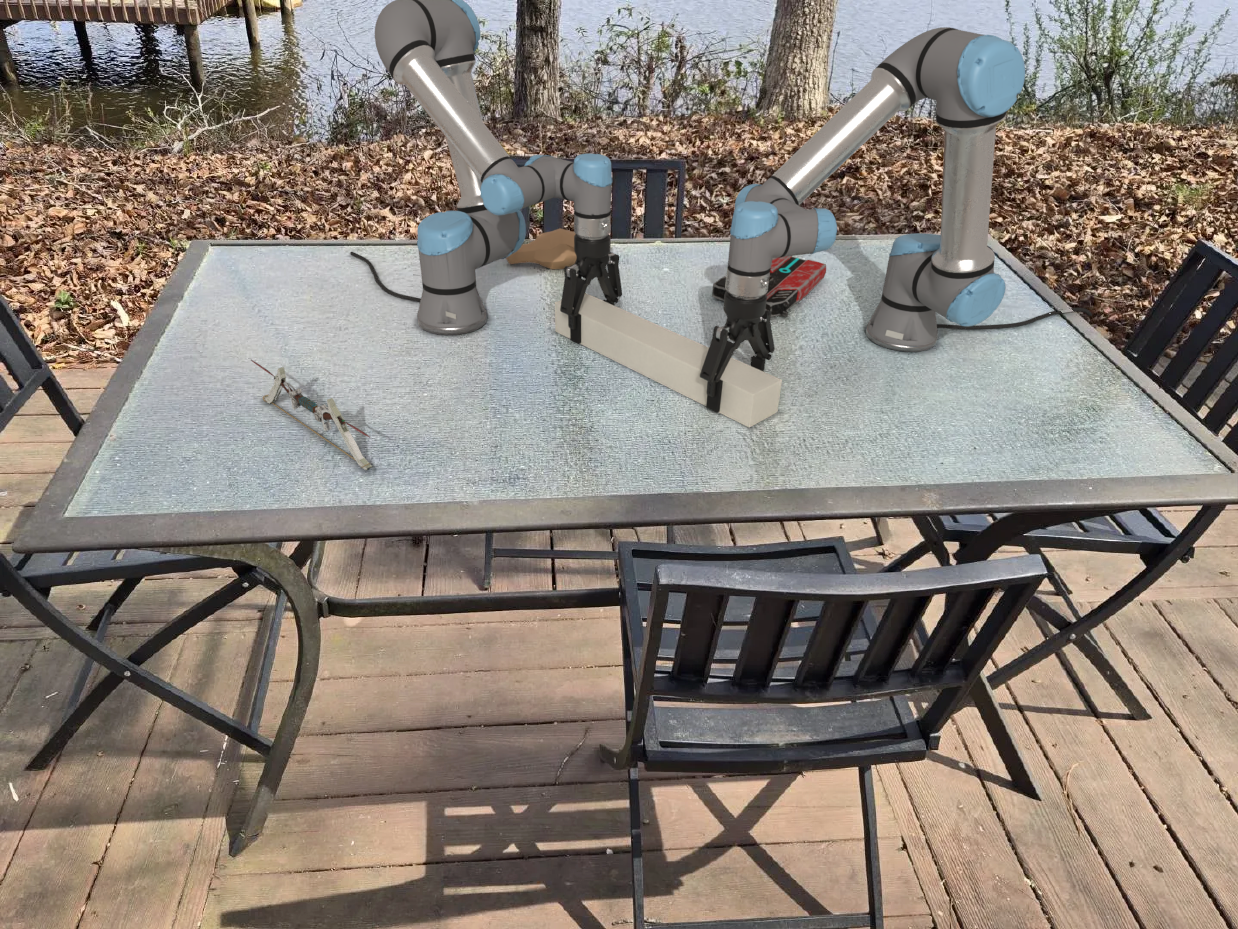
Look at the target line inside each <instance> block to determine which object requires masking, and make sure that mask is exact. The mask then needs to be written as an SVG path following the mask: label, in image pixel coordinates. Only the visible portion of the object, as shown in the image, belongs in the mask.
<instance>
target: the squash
mask: <svg viewBox="0 0 1238 929" xmlns="http://www.w3.org/2000/svg"><path fill="white" fill-rule="evenodd" d="M574 236H575V232H574V231H571V230H568V229H565V228H561V227H559V228H557V229H554V230H552V231H546V232H542V233H541V234H539V235H537V236H536V237H535V239H534V240H532V241H530V242H528V243H523V244H522V246H521V248H520V249H519V250H518V251H516V252H515V253H513V254H511V255H510V256H508V257H507V258H505V260H506V262H508V264H509V265H514V264H524V263H525V264H527V263H531V264H538V265H540V266H541V267H543V268H547V269H550V270H564V268H565V266H568V267H571V266H573V265H575V262H576V258H577V257H576V254H575V251H574Z"/></svg>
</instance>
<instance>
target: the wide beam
mask: <svg viewBox="0 0 1238 929" xmlns="http://www.w3.org/2000/svg"><path fill="white" fill-rule="evenodd" d="M561 300H562V299H560V300H557V301H555V302H554V328H555V329H554V330H555V333H557V334H560V335H561V336H563V337H564V338H568V339H569V340H570V328H569V326H568V315H567V314H565V313H563V312H561V311H560V307H561ZM603 300H604V299H601V298H598V297H596V296H594V295H591V294H589V293H587V292H585V295H584V298H583V301H582V304H581V307H580V310H579V314H581V343H579V344H578V345H581V346H584V347H585V348H588V349H589V350H591V351H593V352H595V353H598V354H600V355H601V356H603V357H606V358H608V359H610V360H611V361H613V362H616V363H618V364H620V365H622V366H624V367H625V368H628V369H630V370H632V371H634V372H636V373H638V374H640V375H642V376H644V377H646V378H648V379H649V380H652V381H654V382H656V383H658V384H660V385H662V386H665V387H666V388H668V389H671V391H674V392H677V393H678V394H680V395H682V396H685V397H687V398H689V399H690V400H693V401H695V402H697V403H698V404H701V405H703V406H705V407H706V404H707V382H708V381H707V380H704V379H702V378H700V373H701V370H702V367H703V364H704V361H705V358H706V355H707V352H708V350H709V347H710V346H707V345H704V344H702V343H699V342H698V341H695V340H693V339H691V338H689V337H687V336H684V335H682V334H679V333H677V332H675V331H672V330H670V329H668V328H665V327H664V326H661V325H660V324H656V323H655V322H652V321H650V320H647V319H646V318H643V317H641V316H639V315H637V314H634V313H632V312H630V311H627V310H626V309H623V308H621V307H619V306H617V305H615V306H614V305H612V304H609V303H607V302H605V301H603ZM573 309H574V308H573ZM720 380H723V385H722V394H721V404H720V412H718V413H719V414H721V415H722V416H725V417H727V418H729V419H731V420H733V421H735V422H737V423H739V424H741V425H743V426H744V427H747V428H751V427H754V426H756V425H757V424H759V423H761V422H762V421H764V420H767V419H768V418H770V417H772V416H773V415H775V414H777V413H778V410H779V404H780V397H781V390H782V382H783V379H781V378H779V377H776V376H774V375H772V374H771V373H767V372H765V371H764V372H763V371H761V370H759V369H756V368H754V367H752V366H750V364H747V363H745V362H743V361H741V360H738V359H736V358H734V357H731V359H730V361H729V363H728V365H727V366H726V368H725V370H724V372H723V374H722V376H721V378H720Z"/></svg>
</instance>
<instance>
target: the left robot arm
mask: <svg viewBox="0 0 1238 929" xmlns="http://www.w3.org/2000/svg"><path fill="white" fill-rule="evenodd" d="M480 40H481V27H480V23H479V20H478V17H477V15H476V13H475V11H474V10H473V8H472V7H471V6H470V4H468V3H467V2H465V0H393V1H391V2H389V3H388V4H386V5H385V6H384V7H383V8H382V9H381V11H380V12H379V14H378V16H377V18H376V22H375V26H374V41H375V46H376V50H377V53H378V56H379V58H380V60H381V62H382V64H383V66H384V68H385V69H386V71H387V72H388V74H389V75H390V76H391V77H392V79H393V80H394V82H396V84H398V85H404V86H405V87H406V89H407V90H408V91H409V92H410V93H411V95H412V96H413V97H414V98H415V100H416V101H417V102H418V104H419V105H420V106H421V107H422V109H423V110H424V111H425V113H426V114H427V115H428V117H430V119H431V120H432V122H433V123H434V124H435V125H436V126H437V128H438V129H439V130H440V132H441V133H442V134H443V135H444V137H445V139H446V143H447V148H448V151H449V156H450V160H451V163H452V167H453V170H454V174H455V179H456V182H457V185H458V186H457V187H458V190H459V193H460V198H459V200H458V201H457V204H456V209H457V210H446V211H444V212H443V211H439V212H435V213H432V214H429V215H428V216H426V217H425V218H423V219H422V220H421V221H420V222H419V224H418V226H417V230H416V233H417V241H416V245H417V250H418V258H419V259H418V260H419V267H420V275H421V276H420V277H421V284H422V292H421V297H416V296H411V295H406V294H401V293H398V292H396V291H393V290H391V289H389V288H388V287H387V286H385V285H384V284H383V283H382V282H381V281H380V279H379V276H378V273H377V271H376V269H375V267H374V265H373V264H372V262H371V261H370V260H369V259H368V258H366V257H364V256H363V255H361V254H358V253H357V252H354V251H350V252H349V255H351V256H353V257H355V258H356V259H358V260H361V261H363V262H364V263H366V264H367V266H368V267H369V269H370V272H371V273H372V277H373V278H374V281H375V282H376V284H377V285H378V286H379V287H380V289H381V290H382V291H384V292H385V293H387V294H388V295H391V296H393V297H395V298H399V299H403V300H408V301H413V302H417V303H419V305H418V310H417V313H416V314H417V315H416V318H417V325H418V326H419V328H420V329H421V330H423V331H424V332H427V333H430V334H433V335H440V336H459V335H465V334H469V333H473V332H476V331H477V330H480V329H481V328H483V327H484V326H485V325H486V323H487V320H488V316H487V310H486V306H485V304H484V302H483V299H482V298H481V295H480V293H479V291H478V288H477V278H476V277H477V276H476V270H478V269H480V268H482V267H484V266H487V265H489V264H492V263H494V262H497V261H499V260H504V259H505V260H506V258H507V257H508V256H510V255H511V254H513V253H515V252H516V251H518V250H519V249H520V248H521V246H522V244H524V242H525V240H526V234H527V225H526V220H525V217H524V215H523V213H522V211H521V210H523V209H526V208H528V207H530V206H533V205H534V206H535V205H537V204H540V203H543V202H546V201H549V200H551V199H560V200H565V201H569V202H573V232H574V233H575V236H574V251H575V254H576V257H577V258H576V262H575V264H573V265H571V266H569V267H568V266H565V268H564V269H563V274H564V281H563V287H562V294H561V299H560V300H561V307H560V311H561V312H563V313H565V314H567V315H568V326H569V328H570V339H569V340H571V341H572V342H574V343H577V344H578V345H580V344H579V343H581V314H579V310H580V307H581V304H582V301H583V298H584V295H585V293H587V289H588V287H589V286H590V285H591V283H592V280H594V279H597V282H598V284H599V286H600V289H601V292H602V295H603V297H604V299H602V300H603V301H605V302H607V303H609V304H612V305H614V306H616V305H615V304H617V303H618V302H619V300H620V299H619V298H621V297H622V296H623V288H622V281H621V274H620V266H619V264H620V255H619V254H617V253H614V252H612V251H611V243H612V242H611V240H612V239H611V238H612V237H611V235H610V234H611V230H612V229H611V228H612V192H613V191H612V189H613V188H612V187H613V174H612V173H613V172H612V171H613V170H612V161H611V159H610V158H609V157H608V156H606V155H604V154H602V153H601V154H600V153H581V154H578V155H576V157H575V158H574V159H573V161H570V160H568V159H567V160H566V159H564V158H563V159H562V158H559V157H555V156H552V155H550V154H549V155H548V154H545V155H543V154H533V155H531V156H530V157H529V159H528V160H527V161H526V162H525V163H524V165H523V166H518V165H517V164H516V162H515V161H514V160H513V159H512V158H511V156H510V155H509V154H508V152H507V151H506V150H505V148H504V147H503V145H501V143H500V142H499V140H497V138H496V137H495V135H494V134H493V133H492V132H491V131H490V129H489V128H488V127H487V125H486V124H485V123H484V121H483V117H482V116H483V115H482V112H481V108H480V103H479V100H478V96H477V91H476V87H475V83H474V79H473V78H474V77H473V74H472V71H473V69H474V67H475V65H476V64H477V61H476V57H475V52H476V51H477V49H478V48H479V45H480V42H479V41H480ZM573 308H574V309H573Z"/></svg>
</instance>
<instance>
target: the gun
mask: <svg viewBox="0 0 1238 929" xmlns="http://www.w3.org/2000/svg"><path fill="white" fill-rule="evenodd" d="M826 273H827V264H826V263H823V262H820V261H816V260H812V259H802V258H799V257H795V256H787V257H781V258H773V259H772V264H771V270H770V275H769V283H768V291H767V293H766V295H767V301H766V310H769V311H771V318H772V317H777V316H780V317H784V318H787V317H788V315H789V311H788V310H790V309H791V308H792V307H793V306H794V305H795V304H798V303H799V302H801V301H802V300H803V299H804V298H805V297H807V296H808V295H809V294H810V293H811V292H812V291H813V290H814V289H815V287H817V285H818V284H820V283H821V282H822V280H823V279H824V278H825V276H826ZM725 284H726V276H722V277H720V279H717V281H715V282H713V283H712V291H711V297H713V298H714V299H716V300H719V301H723V302H724V297H725V292H726V291H727V290H726V288H725Z"/></svg>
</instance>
